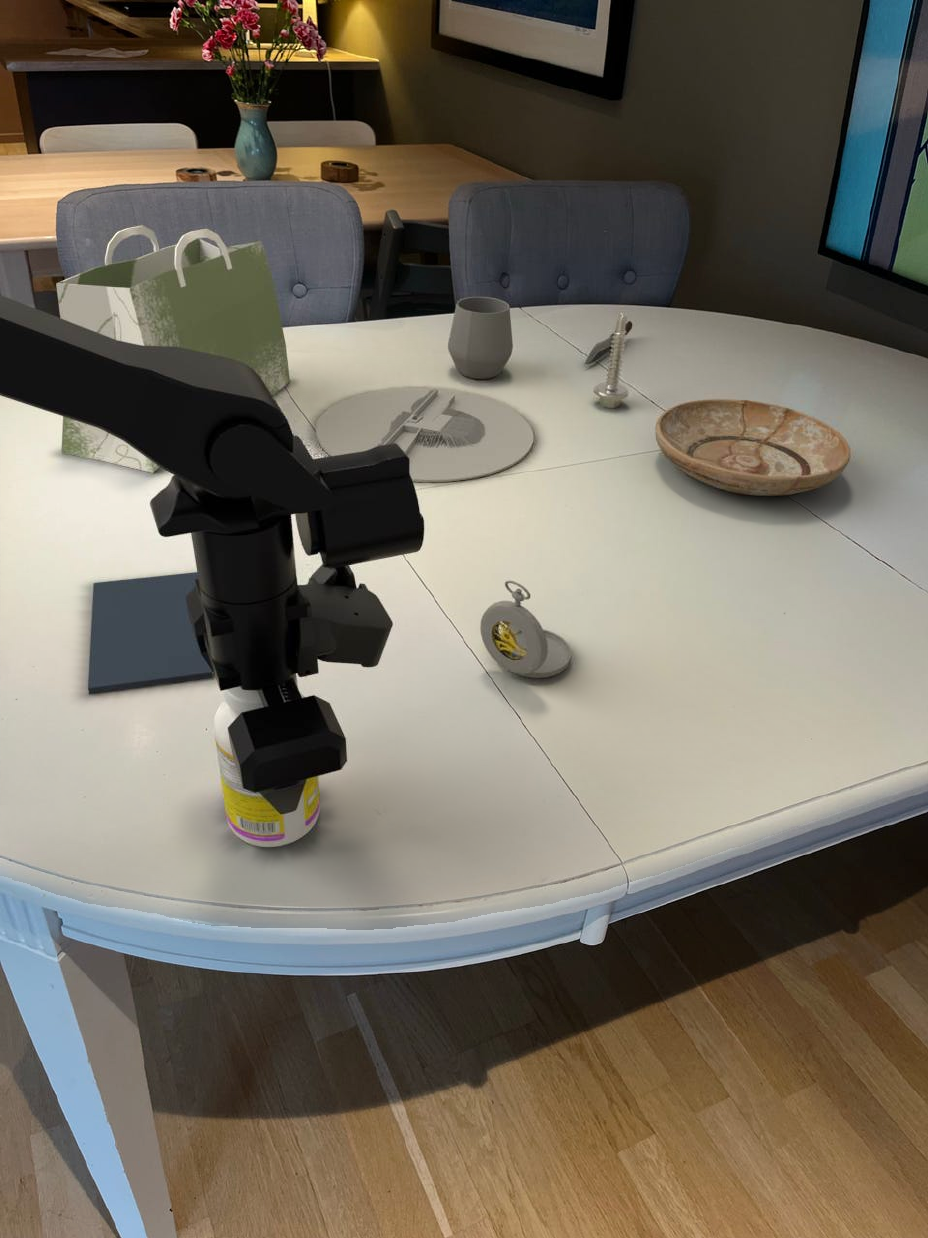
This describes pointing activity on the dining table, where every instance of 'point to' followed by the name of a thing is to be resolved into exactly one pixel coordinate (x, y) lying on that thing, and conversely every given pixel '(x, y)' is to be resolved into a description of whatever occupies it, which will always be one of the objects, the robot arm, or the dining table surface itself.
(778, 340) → the dining table surface
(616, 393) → the screw
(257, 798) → the supplement bottle
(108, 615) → the placemat
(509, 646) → the pocket watch
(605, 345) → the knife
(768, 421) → the ceramic bowl
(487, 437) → the plate
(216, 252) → the grocery bag
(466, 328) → the cup
